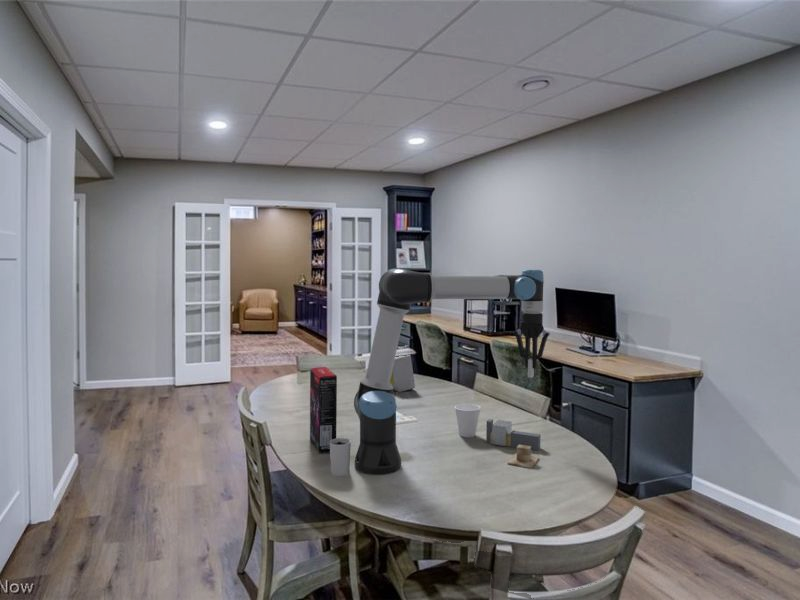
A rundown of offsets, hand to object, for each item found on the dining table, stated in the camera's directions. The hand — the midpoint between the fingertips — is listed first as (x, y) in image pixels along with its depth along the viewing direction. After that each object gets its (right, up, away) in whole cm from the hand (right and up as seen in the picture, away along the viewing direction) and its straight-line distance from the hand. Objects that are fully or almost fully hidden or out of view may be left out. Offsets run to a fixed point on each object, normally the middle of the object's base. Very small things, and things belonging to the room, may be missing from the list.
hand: (530, 376), depth 202 cm
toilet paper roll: (-66, -27, -27) cm, 77 cm away
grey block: (-10, -24, 0) cm, 26 cm away
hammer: (-6, -25, -2) cm, 25 cm away
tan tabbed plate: (-6, -26, -17) cm, 32 cm away
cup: (-22, -24, +10) cm, 34 cm away
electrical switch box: (-50, -18, +84) cm, 100 cm away
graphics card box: (-75, -25, -3) cm, 79 cm away
